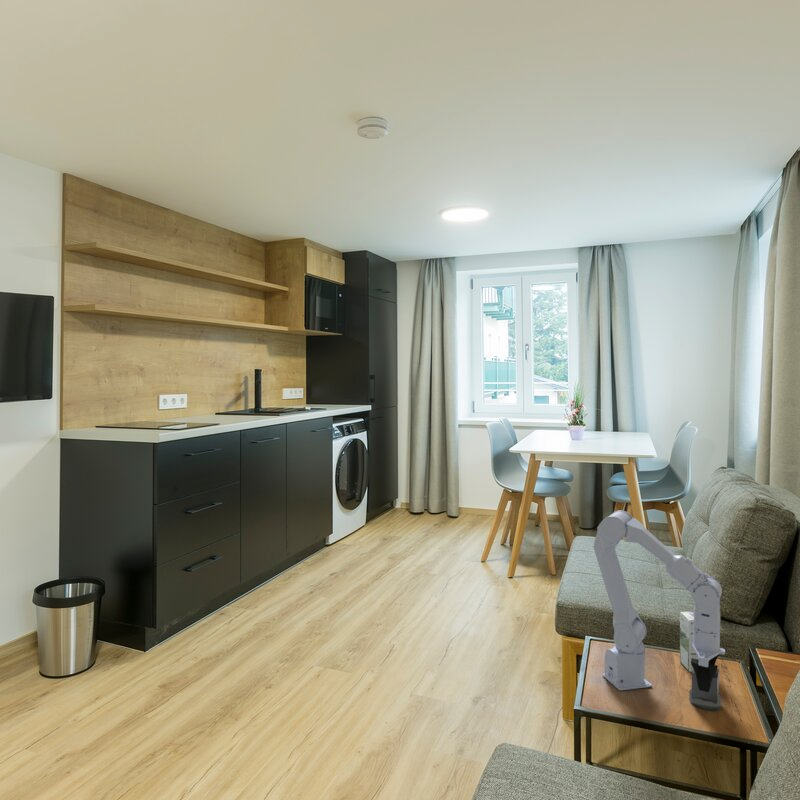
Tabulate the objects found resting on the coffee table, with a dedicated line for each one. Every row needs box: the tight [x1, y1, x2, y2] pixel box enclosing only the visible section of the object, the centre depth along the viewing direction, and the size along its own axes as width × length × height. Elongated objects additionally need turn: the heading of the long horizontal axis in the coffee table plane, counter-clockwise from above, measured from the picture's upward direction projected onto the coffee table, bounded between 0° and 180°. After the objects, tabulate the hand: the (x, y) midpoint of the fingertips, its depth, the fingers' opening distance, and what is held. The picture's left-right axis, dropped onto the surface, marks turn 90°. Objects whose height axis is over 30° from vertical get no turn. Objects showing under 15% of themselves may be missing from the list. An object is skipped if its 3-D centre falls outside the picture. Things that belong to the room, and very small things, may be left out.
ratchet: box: [688, 688, 723, 712], centre depth 144 cm, size 14×7×5 cm, turn 147°
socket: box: [691, 668, 720, 703], centre depth 141 cm, size 5×5×6 cm
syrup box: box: [679, 611, 699, 673], centre depth 158 cm, size 6×6×14 cm
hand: (705, 683), depth 141 cm, fingers open, 7 cm apart
